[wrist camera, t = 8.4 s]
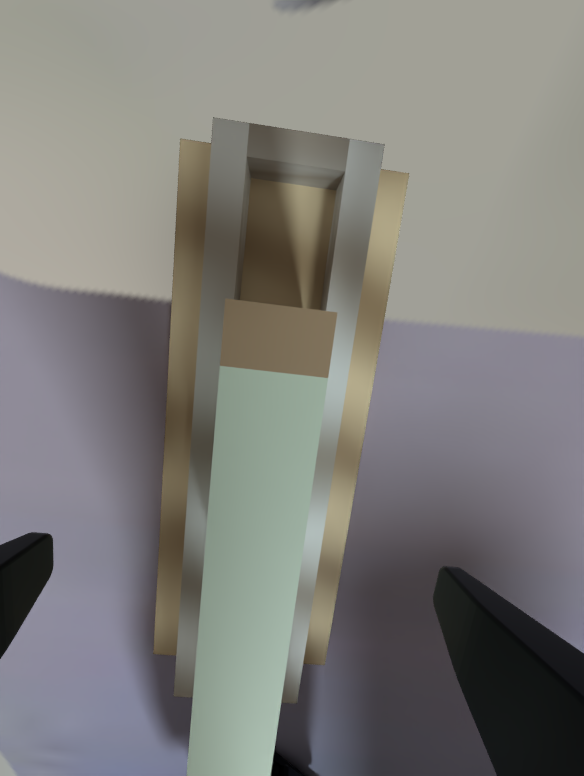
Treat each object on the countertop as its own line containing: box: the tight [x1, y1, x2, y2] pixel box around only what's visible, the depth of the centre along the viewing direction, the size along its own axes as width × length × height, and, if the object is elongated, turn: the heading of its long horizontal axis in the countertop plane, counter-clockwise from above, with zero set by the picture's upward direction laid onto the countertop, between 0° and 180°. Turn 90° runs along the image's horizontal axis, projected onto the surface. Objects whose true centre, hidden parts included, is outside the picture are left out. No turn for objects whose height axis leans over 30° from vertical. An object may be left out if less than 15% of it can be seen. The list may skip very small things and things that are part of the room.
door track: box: [153, 117, 409, 704], centre depth 16 cm, size 24×9×4 cm, turn 173°
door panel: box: [187, 298, 338, 776], centre depth 12 cm, size 12×2×9 cm, turn 173°
